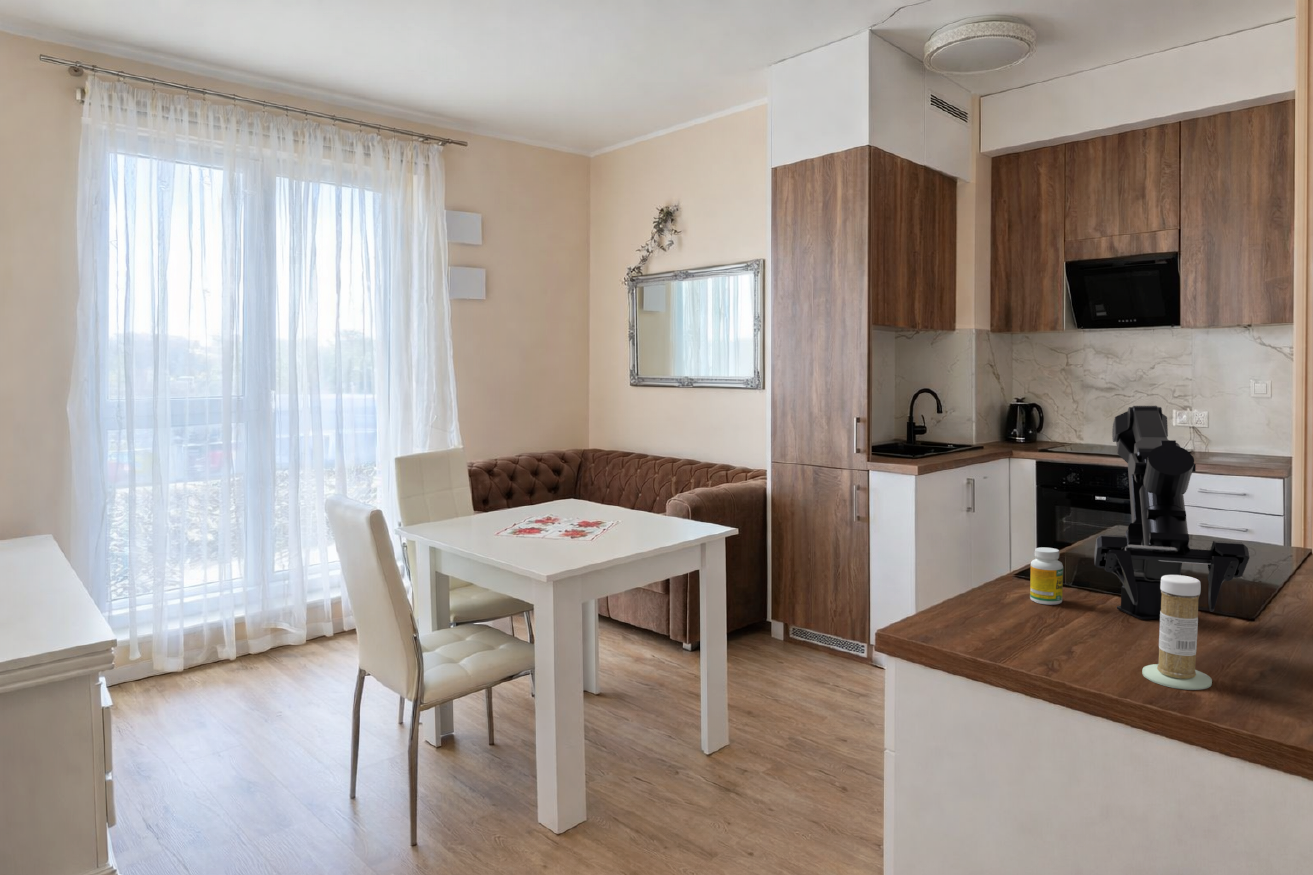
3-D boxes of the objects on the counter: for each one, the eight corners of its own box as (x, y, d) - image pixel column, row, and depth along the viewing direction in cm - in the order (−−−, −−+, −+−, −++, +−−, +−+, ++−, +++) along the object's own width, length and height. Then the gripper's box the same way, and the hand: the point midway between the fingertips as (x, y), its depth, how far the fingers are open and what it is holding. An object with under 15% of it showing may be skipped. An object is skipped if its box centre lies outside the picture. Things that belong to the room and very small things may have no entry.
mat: (1181, 665, 115) (1182, 662, 115) (1226, 687, 107) (1226, 684, 107) (1129, 669, 114) (1129, 665, 114) (1170, 691, 106) (1170, 687, 106)
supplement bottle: (1032, 595, 151) (1033, 545, 150) (1064, 599, 148) (1065, 548, 147) (1027, 602, 147) (1028, 551, 146) (1060, 606, 144) (1061, 554, 143)
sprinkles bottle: (1191, 670, 112) (1196, 575, 111) (1199, 682, 108) (1205, 583, 107) (1153, 665, 114) (1157, 572, 112) (1160, 677, 109) (1164, 580, 108)
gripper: (1227, 547, 124) (1241, 640, 115) (1090, 539, 132) (1094, 626, 123) (1241, 506, 116) (1258, 602, 107) (1095, 500, 124) (1099, 589, 115)
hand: (1173, 606), depth 113 cm, fingers open, 9 cm apart
